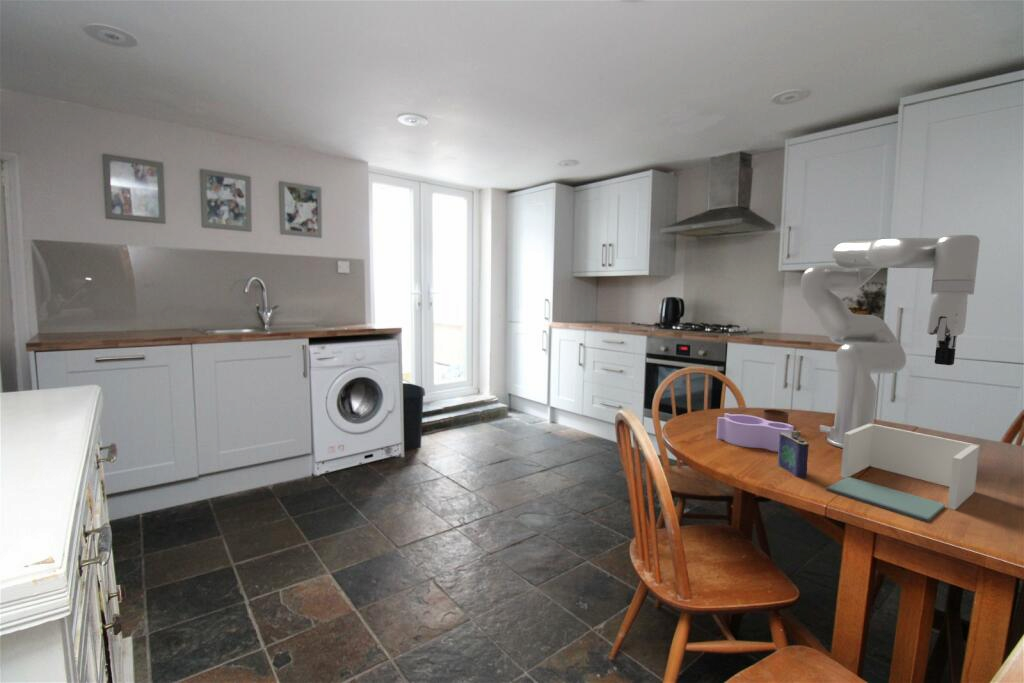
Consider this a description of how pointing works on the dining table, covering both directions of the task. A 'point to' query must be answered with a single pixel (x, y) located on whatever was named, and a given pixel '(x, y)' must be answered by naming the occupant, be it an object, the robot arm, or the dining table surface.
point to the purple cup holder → (751, 431)
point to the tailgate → (887, 498)
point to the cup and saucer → (776, 416)
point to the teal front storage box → (913, 458)
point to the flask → (793, 454)
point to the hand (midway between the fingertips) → (943, 364)
